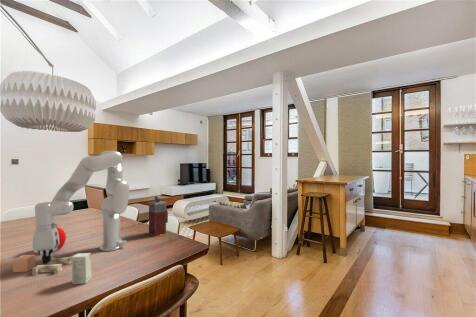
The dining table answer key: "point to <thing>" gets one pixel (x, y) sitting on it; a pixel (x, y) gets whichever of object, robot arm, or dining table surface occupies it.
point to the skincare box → (81, 268)
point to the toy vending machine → (157, 217)
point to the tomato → (61, 237)
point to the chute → (52, 265)
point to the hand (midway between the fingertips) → (46, 262)
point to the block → (23, 263)
